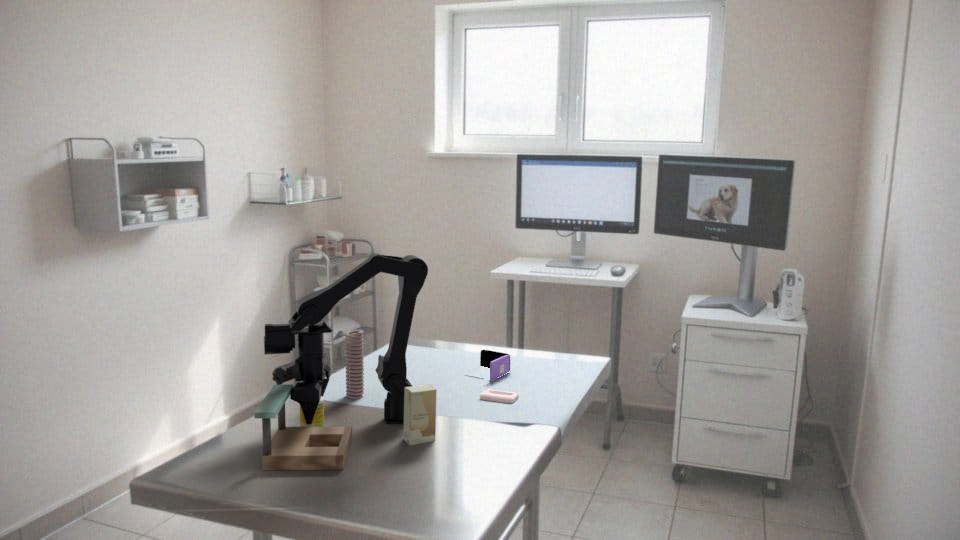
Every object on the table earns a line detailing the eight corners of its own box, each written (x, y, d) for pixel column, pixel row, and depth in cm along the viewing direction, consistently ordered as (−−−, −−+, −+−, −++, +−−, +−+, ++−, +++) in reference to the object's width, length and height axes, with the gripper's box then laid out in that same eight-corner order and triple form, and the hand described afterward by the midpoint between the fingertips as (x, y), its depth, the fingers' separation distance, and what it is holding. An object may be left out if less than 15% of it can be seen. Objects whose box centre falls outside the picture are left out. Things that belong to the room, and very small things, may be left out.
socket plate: (352, 437, 164) (352, 384, 162) (342, 471, 146) (341, 412, 144) (275, 438, 163) (274, 384, 161) (256, 472, 145) (254, 412, 143)
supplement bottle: (318, 433, 166) (317, 392, 165) (296, 431, 167) (295, 390, 166) (327, 425, 171) (327, 385, 170) (306, 423, 172) (305, 383, 171)
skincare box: (410, 446, 160) (410, 392, 158) (402, 439, 163) (402, 386, 162) (437, 441, 163) (437, 388, 161) (429, 435, 166) (429, 383, 164)
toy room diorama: (515, 376, 213) (515, 353, 212) (493, 386, 203) (494, 363, 202) (480, 369, 220) (480, 347, 219) (457, 379, 210) (458, 356, 209)
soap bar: (512, 407, 187) (512, 398, 186) (479, 403, 190) (479, 394, 190) (518, 401, 192) (519, 392, 191) (486, 397, 195) (486, 388, 195)
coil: (342, 398, 190) (341, 331, 188) (352, 393, 195) (351, 327, 192) (358, 401, 189) (357, 333, 186) (367, 396, 193) (366, 329, 190)
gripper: (283, 341, 175) (285, 404, 178) (265, 363, 157) (267, 432, 159) (330, 341, 176) (331, 404, 178) (318, 363, 158) (319, 432, 160)
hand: (312, 417), depth 169 cm, fingers open, 8 cm apart
